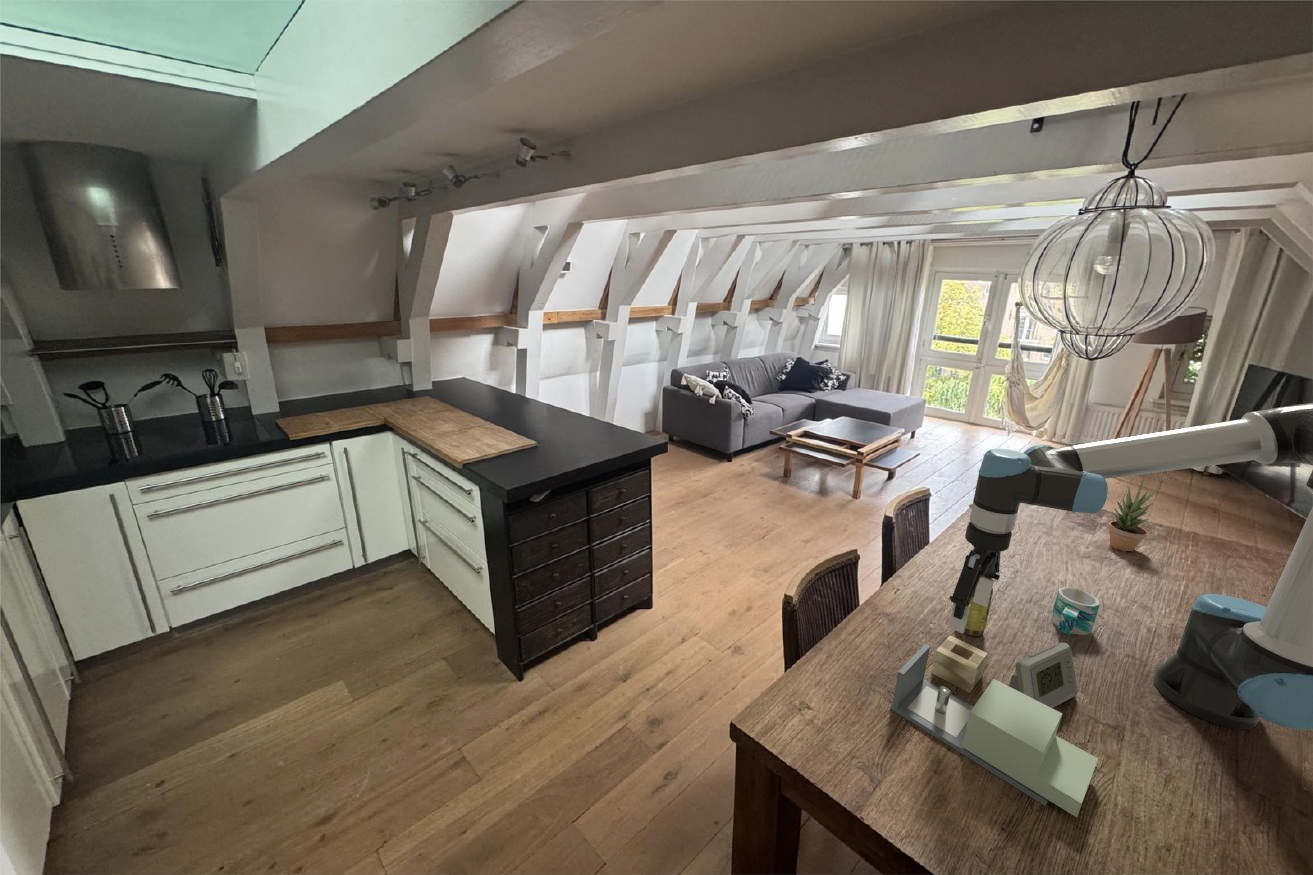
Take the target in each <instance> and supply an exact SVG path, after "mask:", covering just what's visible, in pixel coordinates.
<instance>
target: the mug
mask: <svg viewBox="0 0 1313 875" xmlns="http://www.w3.org/2000/svg"><path fill="white" fill-rule="evenodd" d="M1100 606H1101V603H1100V600H1099V598H1097V597H1096V596H1095V595H1093V594H1092V593H1090V592H1087V591H1084V590H1081V589H1079V588H1077V587H1076V588H1075V587H1067V586H1064V587H1060V588H1058V590H1057V592H1056V598H1055V600H1054V604H1053V608H1052V612H1051V616H1050V619H1051V622H1052V623H1053V624H1054V625H1055V626H1057V631H1059V632H1062V633H1064V634H1067V635H1069V636H1071V635H1072V634H1073V635H1074V634H1075V635H1082V636H1086V635H1089V634H1091V633H1092V631H1093V629H1094V625H1095V621H1096V618H1097V616H1098V613H1099V612H1098V611H1099V609H1100Z"/></svg>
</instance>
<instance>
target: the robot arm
mask: <svg viewBox="0 0 1313 875" xmlns="http://www.w3.org/2000/svg"><path fill="white" fill-rule="evenodd" d="M1248 461H1249V462H1250V461H1254V462H1257V463H1259V464H1261V465H1272V464H1273V465H1274V464H1279V463H1280V464H1282V463H1292V464H1293V463H1294V464H1305V465H1309V466H1313V402H1307V403H1299V404H1293V405H1287V406H1280V407H1273V408H1268V409H1262V410H1257V411H1250V412H1249V411H1248V412H1246V413H1245V414H1243V416H1242V417H1241V418H1240V419H1235V420H1228V421H1223V422H1217V423H1210V424H1204V425H1203V424H1202V425H1197V426H1196V425H1195V426H1191V427H1190V426H1188V427H1184V428H1178V429H1171V430H1165V431H1159V432H1153V433H1152V432H1151V433H1145V434H1140V435H1134V436H1128V437H1127V436H1126V437H1121V438H1114V439H1109V440H1101V441H1095V442H1090V443H1089V442H1088V443H1084V444H1083V443H1081V444H1077V445H1069V446H1068V445H1067V446H1061V447H1053V446H1050V445H1045V444H1038V445H1037V444H1036V445H1033V446H1030V447H1029V448H1027V449H1026V450H1025V451H1023V452H1020V451H1018V450H1015V451H1014V450H1011V449H1006V448H992V449H989V450H988V451H986V452H985V453H984V455H983V459H982V461H981V464H980V467H979V469H978V475H977V476H978V477H977V480H976V486H975V489H974V490H975V491H974V495H973V496H974V497H973V501H972V503H969V505H968V508H969V509H971V511H970V513H969V517H968V518H969V521H968V522H967V526H966V530H965V535H964V538H965V540H966V541H967V542H968V543H969V544H970V545H971V546H973V549H970V551H969V553H968V554H967V555H966V556H965V558H964V563H963V566H962V569H961V572H960V574H959V577H958V580H957V582H956V584H955V587H954V591H953V593H952V595H950V596H949V600H950V603H953V606H952V610H951V615H950V618H949V624H948V628H950V629H952V630H954V631H956V632H958V633H960V634H965V633H964V631H965V627H966V623H967V618H968V614H969V610H970V606H971V605H970V600H971V598H972V596H973V594H974V591H975V589H976V591H975V595H974V599H973V602H975V603H977V604H980V605H982V606H984V607H987V606H988V603H989V599H990V595H991V591H992V588H993V586H994V582H995V581H999V580H1000V576H1001V574H999V572H1000V562H1001V552H1005V551H1006V550H1009V547H1010V542H1011V540H1012V536H1013V533H1012V531H1013V530H1014V529H1015V526H1016V520H1017V517H1018V514H1019V508H1020V505H1021V504H1025V505H1031V506H1037V507H1044V508H1048V509H1049V508H1050V509H1055V510H1061V511H1066V512H1067V511H1068V512H1072V513H1080V514H1081V513H1082V514H1092V515H1093V514H1098V513H1099V512H1100V511H1101V510H1102V509H1103V508H1104V506H1105V505H1106V502H1107V498H1108V494H1109V493H1108V492H1109V489H1108V488H1109V487H1108V482H1107V481H1106V479H1112V478H1113V479H1115V478H1122V477H1128V476H1129V477H1130V476H1137V475H1138V476H1139V475H1146V474H1154V473H1161V472H1163V473H1164V472H1170V471H1178V470H1186V469H1193V468H1202V467H1210V466H1216V465H1226V464H1233V463H1243V462H1248ZM1305 488H1306V489H1307V490H1308V491H1309V492H1310V493H1311V495H1313V469H1312V470H1311V473H1310V475H1309V478H1308V479H1307V482H1306V484H1305ZM1297 537H1298V538H1297V540H1296V542H1295V544H1294V546H1293V549H1292V551H1291V553H1290V555H1289V557H1288V559H1287V562H1286V564H1285V566H1284V568H1283V571H1282V573H1281V575H1280V577H1279V579H1278V582H1277V583H1276V586H1275V588H1274V590H1273V592H1272V595H1271V597H1270V600H1269V602H1268V604H1267V606H1264V605H1261V604H1258V603H1255V602H1252V601H1251V600H1250V601H1249V600H1246V599H1243V598H1239V597H1234V596H1231V595H1225V594H1218V593H1206V594H1201V595H1199V596H1198V597H1197V598H1196V600H1195V602H1194V603H1193V605H1192V606H1191V607H1190V608H1191V610H1190V613H1189V616H1188V618H1187V621H1186V624H1185V626H1184V629H1183V633H1182V635H1181V638H1180V640H1179V645H1178V647H1177V649H1176V650H1175V651H1176V652H1175V653H1173V654H1172V655H1171V656H1170V657H1169V658H1167V659H1166V660H1165V661H1164V662H1163V663H1162V664H1161V665H1160V666H1158V668H1157V669H1156V671H1155V674H1154V676H1153V683H1154V686H1155V687H1156V689H1157V690H1158V691H1159V692H1160V693H1161V695H1162V696H1164V698H1166V699H1167V700H1169V701H1170V702H1171V703H1173V704H1174V705H1176V706H1177V707H1178V708H1180V709H1182V710H1184V711H1185V712H1187V713H1189V714H1191V715H1193V716H1196V717H1198V718H1199V719H1202V720H1204V721H1206V722H1210V723H1212V724H1216V725H1219V726H1222V727H1225V728H1230V729H1237V730H1250V729H1254V728H1256V726H1257V725H1258V724H1259V721H1260V719H1261V718H1262V719H1264V720H1266V721H1267V722H1269V723H1271V724H1274V725H1278V726H1279V727H1280V726H1281V727H1284V728H1287V729H1293V730H1294V729H1295V730H1305V731H1313V506H1312V507H1311V509H1310V510H1309V512H1308V515H1307V518H1306V520H1305V522H1304V524H1303V527H1302V529H1301V531H1300V533H1299V536H1297ZM980 570H981V571H980Z"/></svg>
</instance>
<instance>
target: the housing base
mask: <svg viewBox="0 0 1313 875" xmlns="http://www.w3.org/2000/svg"><path fill="white" fill-rule="evenodd" d="M930 649H931V645H928V644H927V643H925V644H923V645H922V647H921V648H919V650H917V651H916V652H915V654H913V656H912V657H911V658H910V659H909V660H908V661H907V662H906V663H905V664H904V665H903V666H902V667H901V668H900V669H899V670H898V671H897V677H896V683H895V688H894V694H893V699H892V703H891V705H890V710H891V711H893V712H894V713H896V714H898V715H899V716H900V717H903V718H904V719H905V720H907V721H909V722H911V723H912V724H914V725H915V726H917V727H919V728H920V729H921V730H923V731H924V732H926V733H927V734H928V733H929V735H931V736H933V737H935V738H936V739H937V740H939V741H941V742H942V743H944V744H945V745H947V746H948V747H949V748H952V749H953V750H955V751H957V753H960V754H962V756H965V757H966V758H968V759H970V760H971V761H972V762H974V763H976V764H977V765H979V766H981V767H982V768H984V769H986V770H987V771H989V772H990V773H992V774H994V775H996V776H997V778H1000V779H1001V780H1003V781H1004V782H1006V783H1008V784H1010V785H1011V786H1012V787H1014V788H1016V789H1018V790H1019V791H1020V792H1022V793H1024V794H1025V795H1027V796H1028V797H1030V798H1032V799H1033V800H1035V801H1037V802H1038V803H1039V804H1042V805H1043V806H1044V807H1047V806H1048V805H1047V804H1048V802H1049V800H1048V799H1046V798H1044V797H1043V796H1041V795H1040V794H1038V793H1036V792H1035V791H1033V790H1031V789H1030V788H1028V787H1027V786H1025V785H1023V784H1022V783H1020V782H1019V781H1017V780H1015V779H1014V778H1012V777H1010V776H1009V775H1007V774H1006V773H1004V772H1002V771H1001V770H999V769H997V768H996V767H994V766H993V765H991V764H989V763H988V762H986V761H984V760H983V759H981V758H980V757H978V756H976V755H975V754H973V753H972V752H970V751H968V750H967V749H965V748H963V747H962V744H963V740H964V735H965V731H966V727H967V723H968V719H969V715H970V711H971V710H972V708H973V707H974V706H973V705H971V704H969V703H968V702H966V701H964V700H962V699H961V698H959V697H957V696H955V695H953V694H952V693H950V698H949V702H948V707H947V711H946V714H940V713H938V712H937V711H936V710H935V705H936V700H937V695H938V691H939V687H940V686H937V685H935V684H933V683H932V682H931V681H928V680H927V679H925V675H926V669H927V665H928V659H929V654H930Z"/></svg>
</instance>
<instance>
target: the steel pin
mask: <svg viewBox="0 0 1313 875" xmlns="http://www.w3.org/2000/svg"><path fill="white" fill-rule="evenodd" d="M938 687H939V691H938V695H937V700H936V705H935V710H936V711H937V712H938V713H940V714H946V711H947V707H948V702H949V698H950V694H952V693H951V692H952V691H951V690H950V688H948V687H946V686H938Z"/></svg>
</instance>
